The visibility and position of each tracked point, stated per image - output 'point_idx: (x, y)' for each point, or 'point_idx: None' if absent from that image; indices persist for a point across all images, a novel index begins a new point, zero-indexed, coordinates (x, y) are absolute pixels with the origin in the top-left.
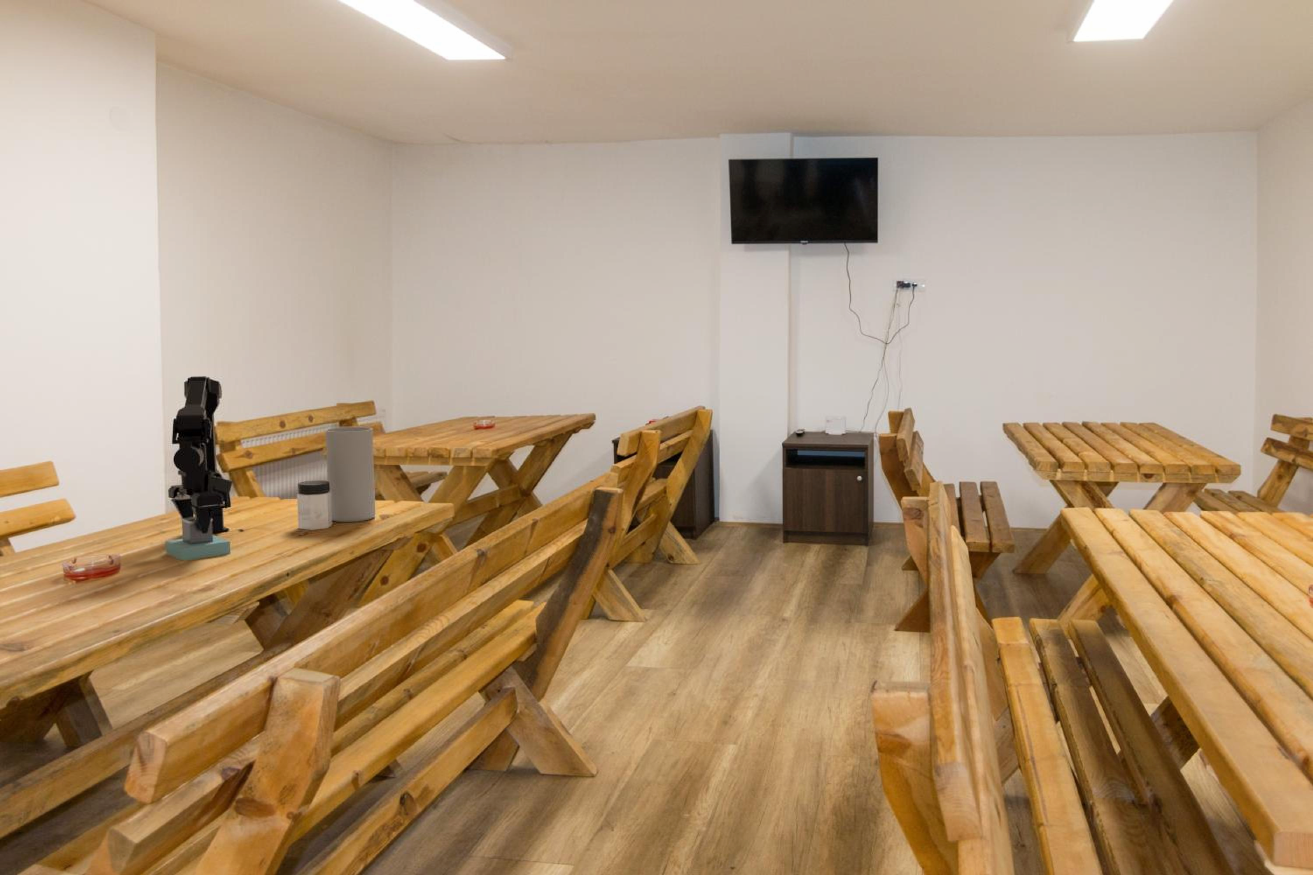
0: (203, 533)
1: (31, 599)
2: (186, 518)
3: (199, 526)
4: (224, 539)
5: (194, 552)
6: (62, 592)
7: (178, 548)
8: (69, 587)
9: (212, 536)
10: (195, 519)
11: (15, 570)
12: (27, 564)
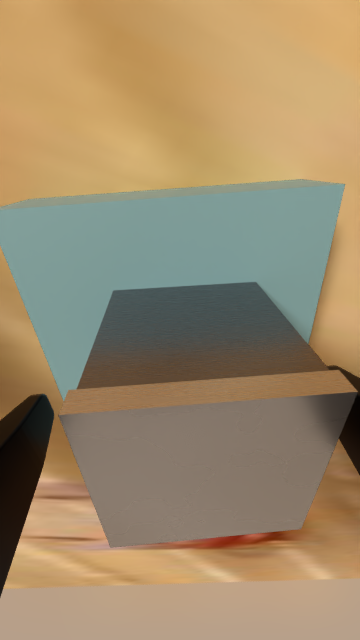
0: None
1: (340, 569)
2: (155, 529)
3: (352, 448)
4: (250, 194)
5: None
6: (340, 551)
7: None
8: (315, 546)
9: (268, 297)
10: (263, 498)
11: (102, 583)
12: (54, 577)
